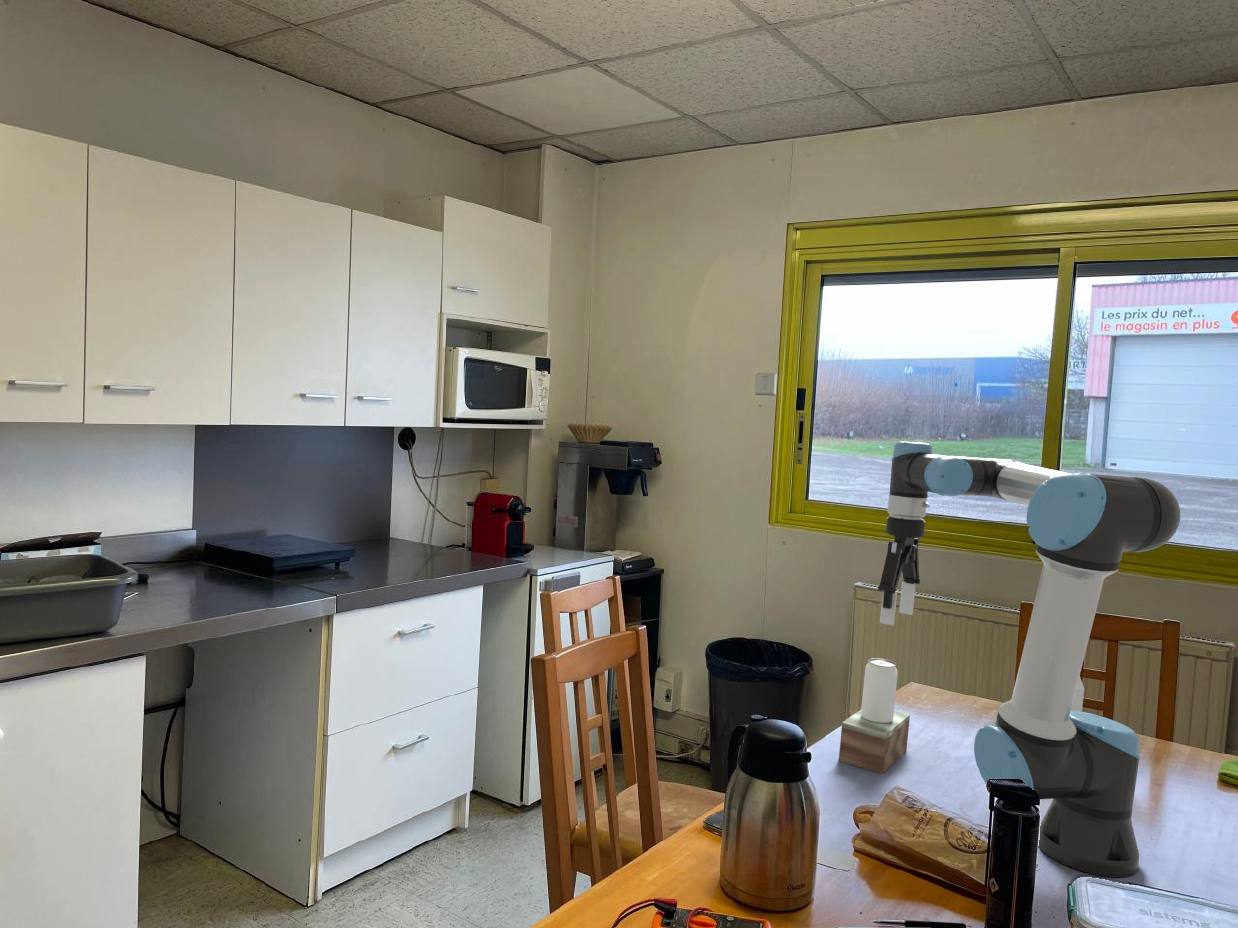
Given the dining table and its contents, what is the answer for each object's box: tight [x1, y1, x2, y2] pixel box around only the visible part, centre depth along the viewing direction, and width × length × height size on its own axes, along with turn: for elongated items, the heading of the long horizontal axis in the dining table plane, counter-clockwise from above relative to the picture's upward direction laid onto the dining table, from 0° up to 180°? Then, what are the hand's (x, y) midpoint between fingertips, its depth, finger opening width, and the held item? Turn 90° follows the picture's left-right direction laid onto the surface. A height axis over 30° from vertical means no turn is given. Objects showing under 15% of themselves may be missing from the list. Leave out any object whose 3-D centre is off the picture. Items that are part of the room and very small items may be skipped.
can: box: [860, 657, 898, 724], centre depth 187 cm, size 6×6×12 cm
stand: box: [838, 709, 911, 774], centre depth 188 cm, size 16×9×8 cm, turn 145°
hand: (896, 618), depth 186 cm, fingers open, 13 cm apart
